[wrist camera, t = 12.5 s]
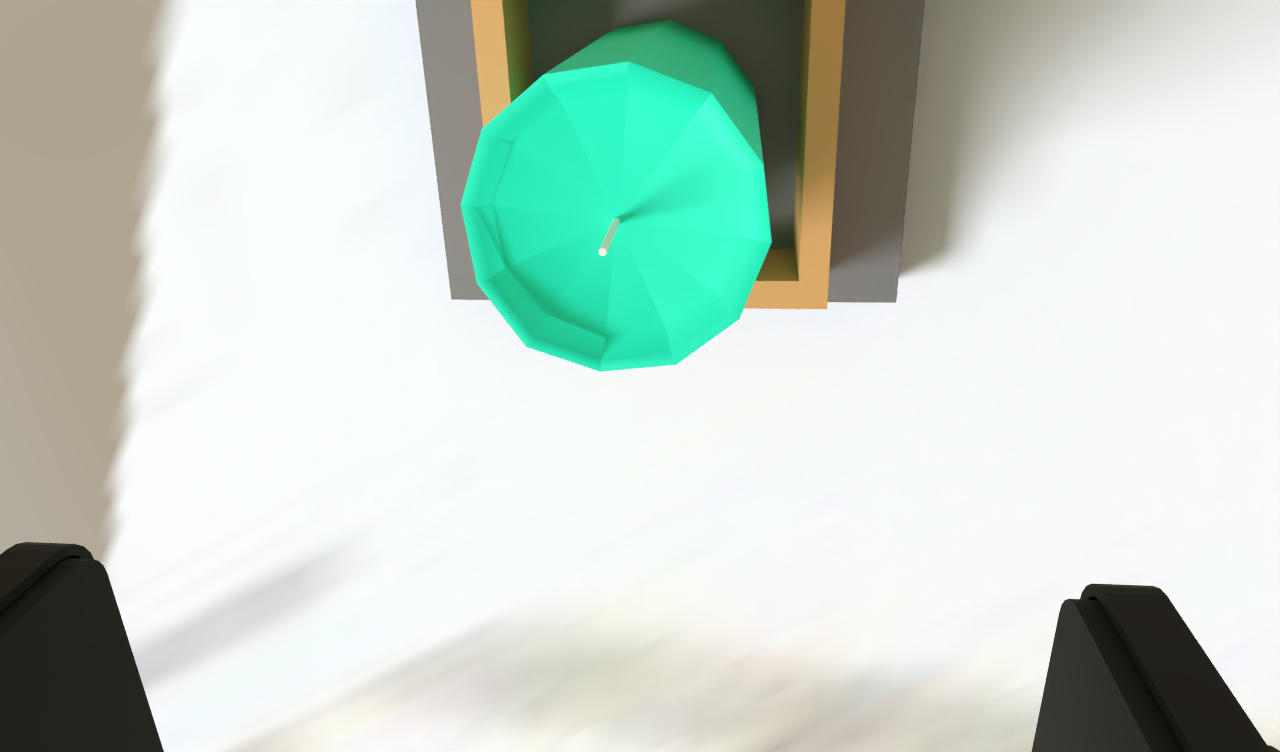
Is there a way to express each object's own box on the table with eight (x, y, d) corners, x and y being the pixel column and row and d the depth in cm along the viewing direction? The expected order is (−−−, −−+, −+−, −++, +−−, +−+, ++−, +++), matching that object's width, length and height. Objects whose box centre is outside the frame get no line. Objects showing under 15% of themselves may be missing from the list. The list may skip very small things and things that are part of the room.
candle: (678, 267, 28) (641, 463, 18) (517, 150, 27) (372, 281, 17) (804, 107, 26) (852, 220, 15) (633, -29, 25) (554, -11, 14)
